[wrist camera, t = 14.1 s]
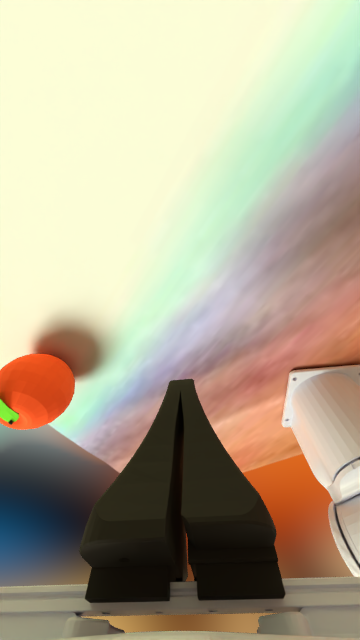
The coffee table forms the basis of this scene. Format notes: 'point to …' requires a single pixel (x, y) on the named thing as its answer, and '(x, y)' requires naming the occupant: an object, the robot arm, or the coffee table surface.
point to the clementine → (34, 391)
